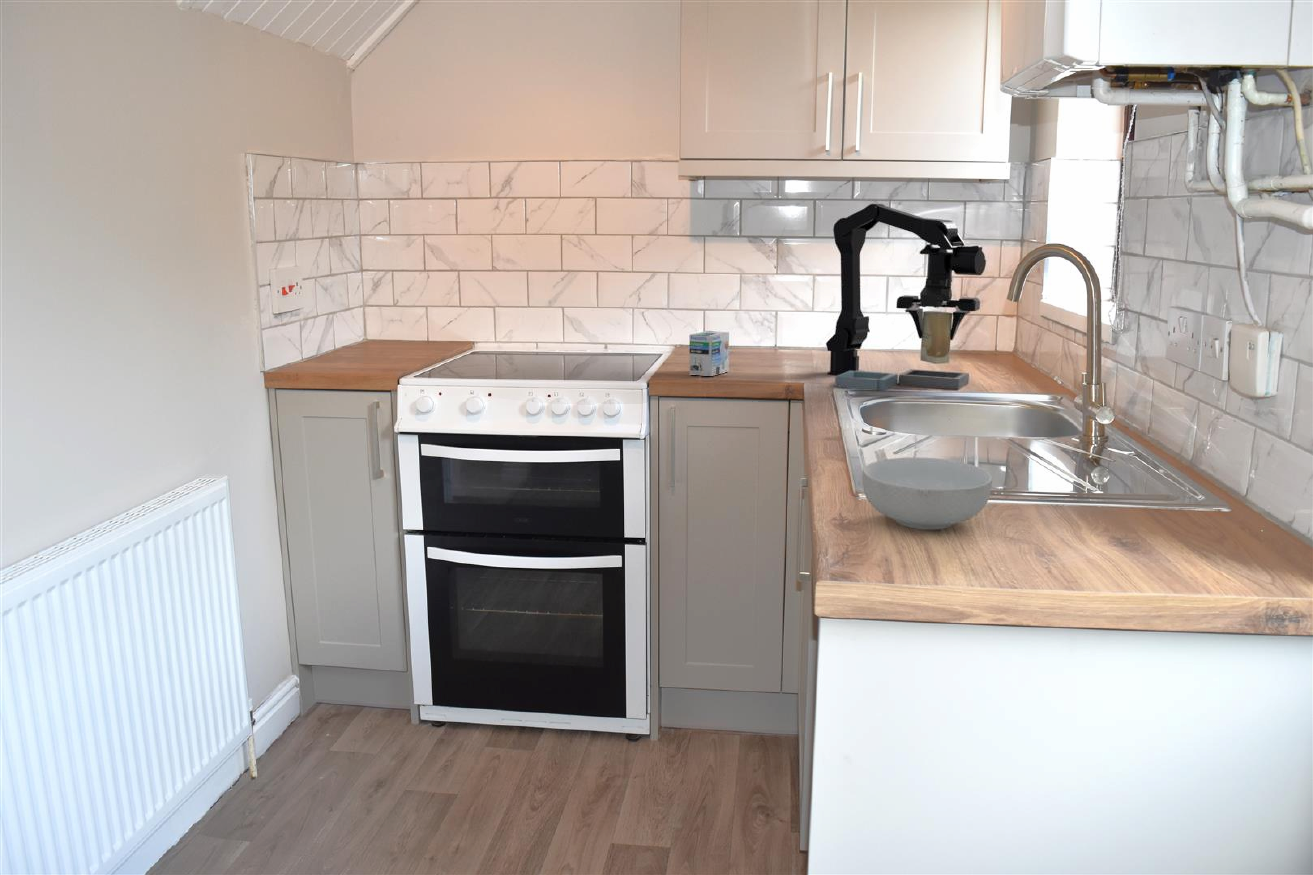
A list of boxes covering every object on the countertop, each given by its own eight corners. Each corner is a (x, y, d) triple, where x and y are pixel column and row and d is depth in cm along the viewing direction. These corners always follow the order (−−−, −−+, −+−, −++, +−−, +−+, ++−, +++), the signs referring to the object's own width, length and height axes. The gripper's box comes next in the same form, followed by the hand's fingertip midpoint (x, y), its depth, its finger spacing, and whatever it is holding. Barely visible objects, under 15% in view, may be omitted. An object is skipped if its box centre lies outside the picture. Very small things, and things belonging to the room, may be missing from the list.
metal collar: (898, 385, 252) (898, 374, 252) (910, 379, 261) (910, 369, 261) (958, 389, 245) (959, 379, 245) (968, 383, 254) (969, 373, 254)
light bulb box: (711, 378, 265) (711, 335, 263) (688, 376, 268) (688, 334, 266) (729, 372, 274) (730, 331, 272) (706, 370, 277) (706, 330, 275)
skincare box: (919, 361, 254) (921, 310, 252) (934, 359, 256) (936, 310, 253) (935, 364, 248) (937, 313, 246) (950, 363, 250) (952, 312, 247)
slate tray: (833, 387, 250) (834, 376, 249) (850, 379, 260) (850, 370, 260) (883, 391, 244) (883, 380, 244) (898, 383, 255) (898, 373, 254)
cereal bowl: (841, 526, 140) (842, 475, 138) (887, 498, 153) (889, 452, 152) (966, 548, 130) (969, 494, 129) (1004, 516, 144) (1007, 466, 142)
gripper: (891, 274, 245) (888, 340, 248) (971, 277, 236) (967, 345, 240) (904, 272, 255) (901, 335, 258) (982, 274, 246) (978, 339, 249)
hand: (936, 339), depth 251 cm, fingers closed on skincare box, 7 cm apart
